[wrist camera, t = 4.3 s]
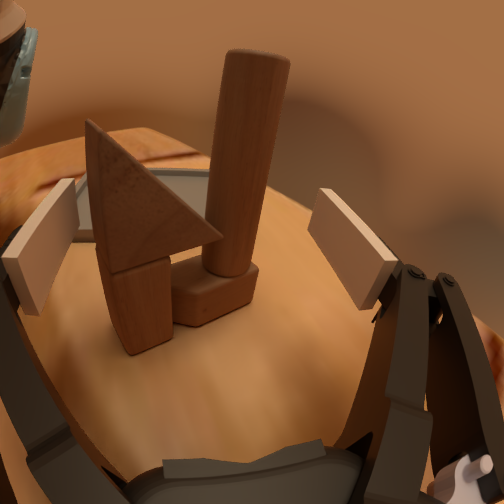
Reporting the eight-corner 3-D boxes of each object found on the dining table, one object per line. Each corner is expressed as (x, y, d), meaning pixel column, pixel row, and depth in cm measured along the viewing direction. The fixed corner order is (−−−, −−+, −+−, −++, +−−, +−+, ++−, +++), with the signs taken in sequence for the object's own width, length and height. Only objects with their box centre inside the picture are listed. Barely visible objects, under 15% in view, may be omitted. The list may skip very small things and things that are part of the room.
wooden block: (110, 322, 19) (89, 43, 9) (226, 277, 25) (262, 57, 15) (130, 359, 17) (105, 32, 7) (253, 303, 23) (307, 62, 13)
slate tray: (47, 242, 24) (44, 229, 24) (89, 177, 39) (89, 168, 38) (249, 243, 30) (251, 231, 29) (226, 179, 44) (227, 170, 44)
